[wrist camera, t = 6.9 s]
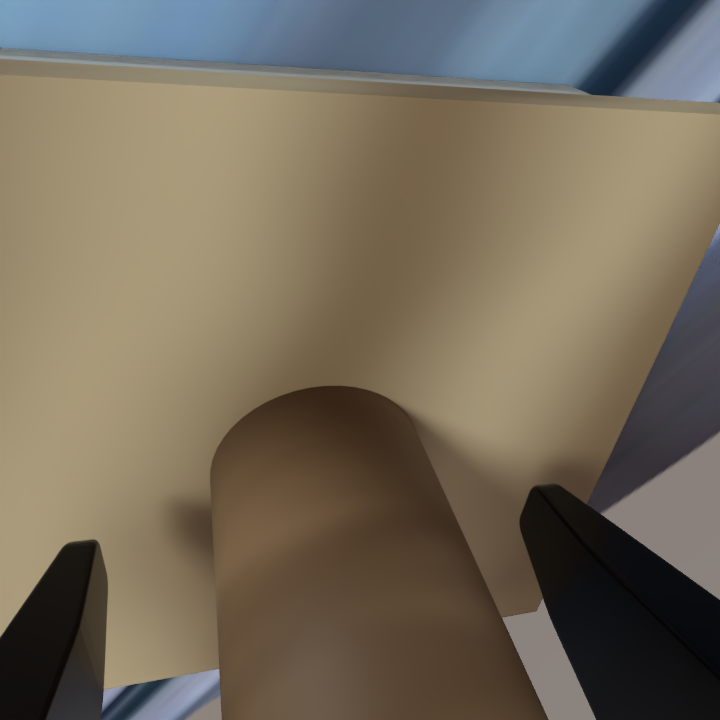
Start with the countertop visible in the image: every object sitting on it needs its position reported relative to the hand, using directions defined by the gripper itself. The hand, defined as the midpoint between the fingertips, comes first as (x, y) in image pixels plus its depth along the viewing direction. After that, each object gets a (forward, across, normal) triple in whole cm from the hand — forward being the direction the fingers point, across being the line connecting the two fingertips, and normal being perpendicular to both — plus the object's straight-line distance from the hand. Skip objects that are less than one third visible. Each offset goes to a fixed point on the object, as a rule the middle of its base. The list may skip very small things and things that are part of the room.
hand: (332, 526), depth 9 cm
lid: (+2, 0, 0) cm, 2 cm away
